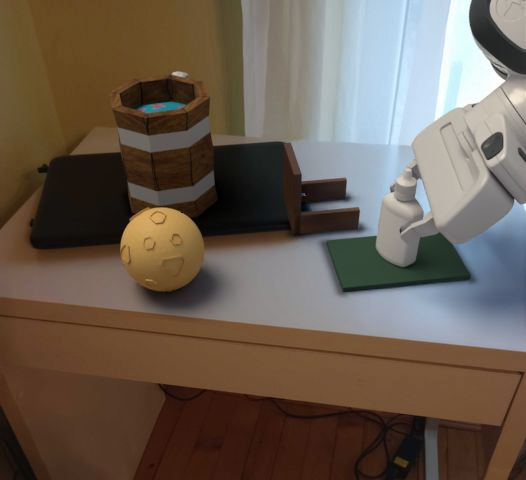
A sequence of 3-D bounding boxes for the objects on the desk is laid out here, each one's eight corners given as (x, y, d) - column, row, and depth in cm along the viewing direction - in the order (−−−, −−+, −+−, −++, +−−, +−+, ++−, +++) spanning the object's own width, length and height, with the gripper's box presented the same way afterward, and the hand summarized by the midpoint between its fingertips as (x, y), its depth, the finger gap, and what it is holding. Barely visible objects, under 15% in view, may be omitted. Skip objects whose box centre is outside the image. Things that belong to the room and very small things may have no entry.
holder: (344, 195, 92) (349, 137, 86) (358, 229, 86) (364, 168, 79) (283, 201, 91) (283, 142, 85) (292, 235, 85) (294, 174, 79)
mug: (208, 225, 87) (198, 120, 77) (114, 219, 89) (91, 115, 78) (233, 156, 101) (227, 59, 90) (151, 152, 102) (136, 56, 92)
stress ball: (152, 252, 83) (141, 183, 76) (220, 268, 80) (215, 199, 73) (112, 297, 76) (95, 227, 69) (184, 317, 74) (174, 246, 67)
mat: (443, 233, 85) (444, 229, 84) (470, 279, 78) (471, 275, 77) (326, 243, 84) (326, 240, 83) (342, 291, 76) (342, 287, 76)
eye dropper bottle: (382, 270, 78) (395, 183, 70) (373, 243, 82) (384, 159, 74) (417, 267, 79) (434, 181, 70) (406, 241, 82) (420, 156, 74)
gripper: (464, 78, 74) (372, 155, 82) (507, 164, 60) (391, 249, 67) (493, 115, 77) (402, 186, 85) (541, 205, 63) (426, 282, 70)
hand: (397, 215), depth 76 cm, fingers open, 8 cm apart
